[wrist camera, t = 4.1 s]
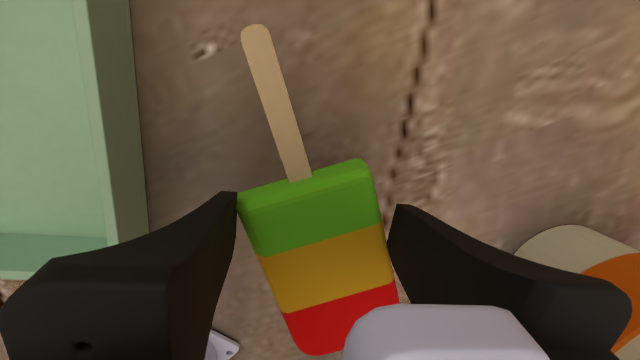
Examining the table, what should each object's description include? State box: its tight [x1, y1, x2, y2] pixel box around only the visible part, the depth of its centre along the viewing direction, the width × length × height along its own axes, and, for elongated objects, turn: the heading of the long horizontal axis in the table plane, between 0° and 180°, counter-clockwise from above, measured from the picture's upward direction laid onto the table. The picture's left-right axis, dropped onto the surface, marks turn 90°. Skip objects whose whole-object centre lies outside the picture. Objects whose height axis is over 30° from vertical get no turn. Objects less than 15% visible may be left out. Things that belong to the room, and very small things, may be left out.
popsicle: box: [236, 24, 400, 356], centre depth 13 cm, size 6×15×2 cm, turn 15°
